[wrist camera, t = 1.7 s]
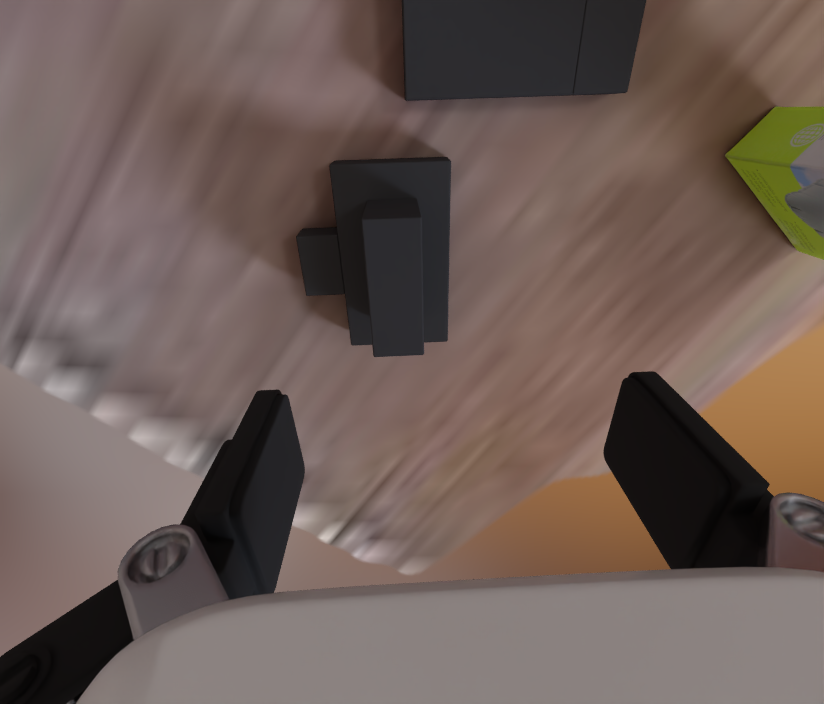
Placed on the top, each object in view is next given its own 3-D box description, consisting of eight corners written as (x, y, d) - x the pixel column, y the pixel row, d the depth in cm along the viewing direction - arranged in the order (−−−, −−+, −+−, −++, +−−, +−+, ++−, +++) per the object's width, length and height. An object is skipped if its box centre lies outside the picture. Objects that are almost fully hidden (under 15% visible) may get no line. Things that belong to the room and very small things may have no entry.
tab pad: (291, 162, 25) (257, 178, 19) (447, 156, 25) (463, 171, 19) (319, 334, 31) (301, 388, 25) (444, 329, 31) (456, 381, 25)
